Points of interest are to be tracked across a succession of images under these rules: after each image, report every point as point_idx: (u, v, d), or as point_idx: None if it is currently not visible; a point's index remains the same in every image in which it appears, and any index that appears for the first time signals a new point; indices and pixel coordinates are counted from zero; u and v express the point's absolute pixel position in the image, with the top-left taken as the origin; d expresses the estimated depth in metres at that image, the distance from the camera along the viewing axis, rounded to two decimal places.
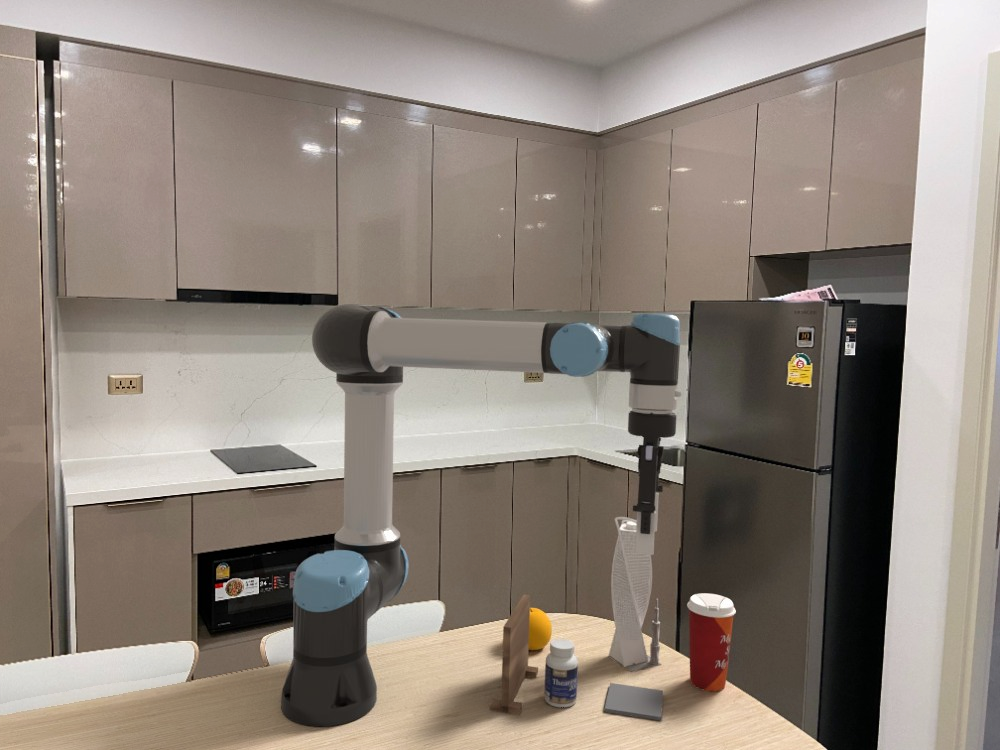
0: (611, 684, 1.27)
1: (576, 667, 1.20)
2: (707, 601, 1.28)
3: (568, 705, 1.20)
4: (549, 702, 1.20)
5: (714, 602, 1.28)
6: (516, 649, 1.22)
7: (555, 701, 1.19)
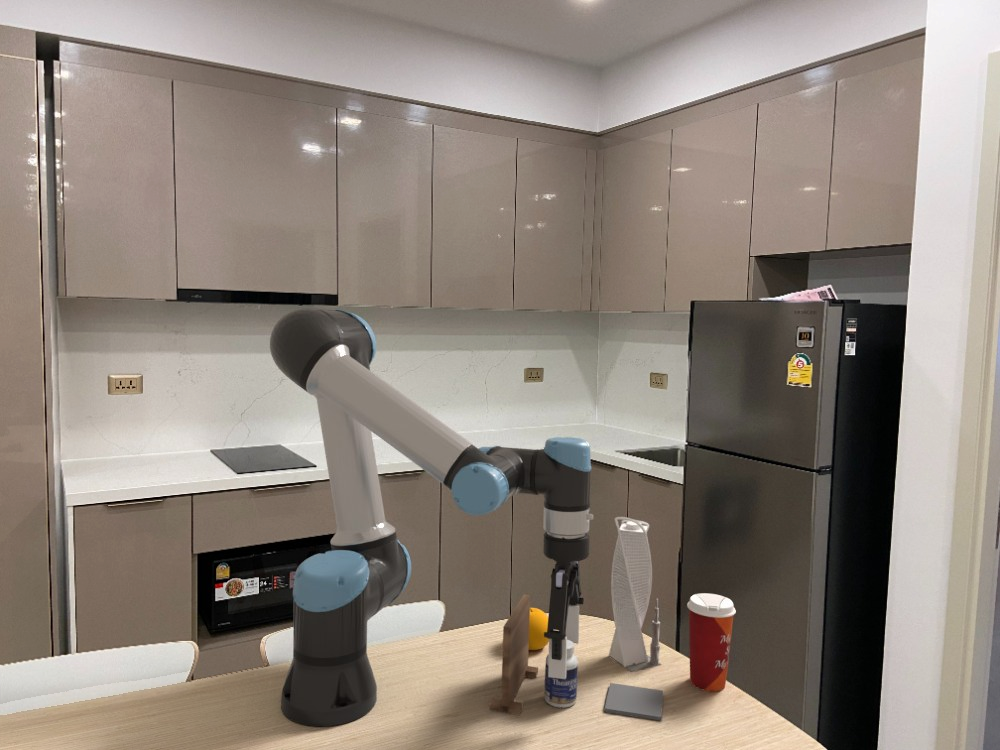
0: (611, 684, 1.27)
1: (576, 667, 1.20)
2: (707, 601, 1.28)
3: (568, 705, 1.20)
4: (549, 702, 1.20)
5: (714, 602, 1.28)
6: (516, 649, 1.22)
7: (555, 701, 1.19)
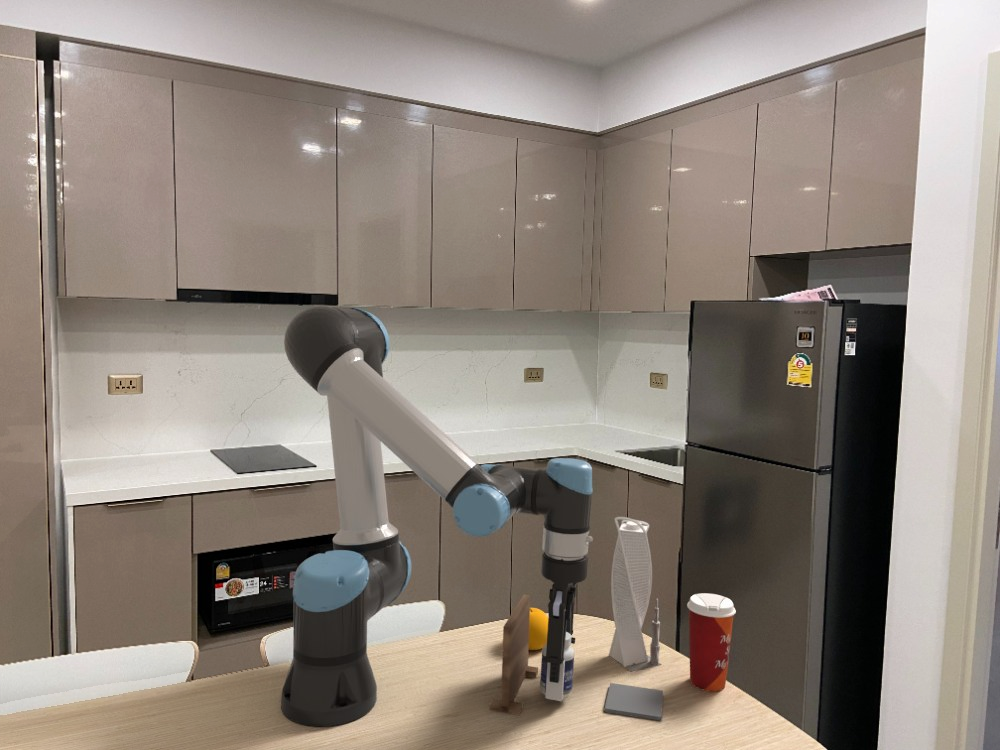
0: (611, 684, 1.27)
1: (572, 659, 1.20)
2: (707, 601, 1.28)
3: (563, 696, 1.20)
4: (544, 693, 1.20)
5: (714, 602, 1.28)
6: (516, 649, 1.22)
7: None
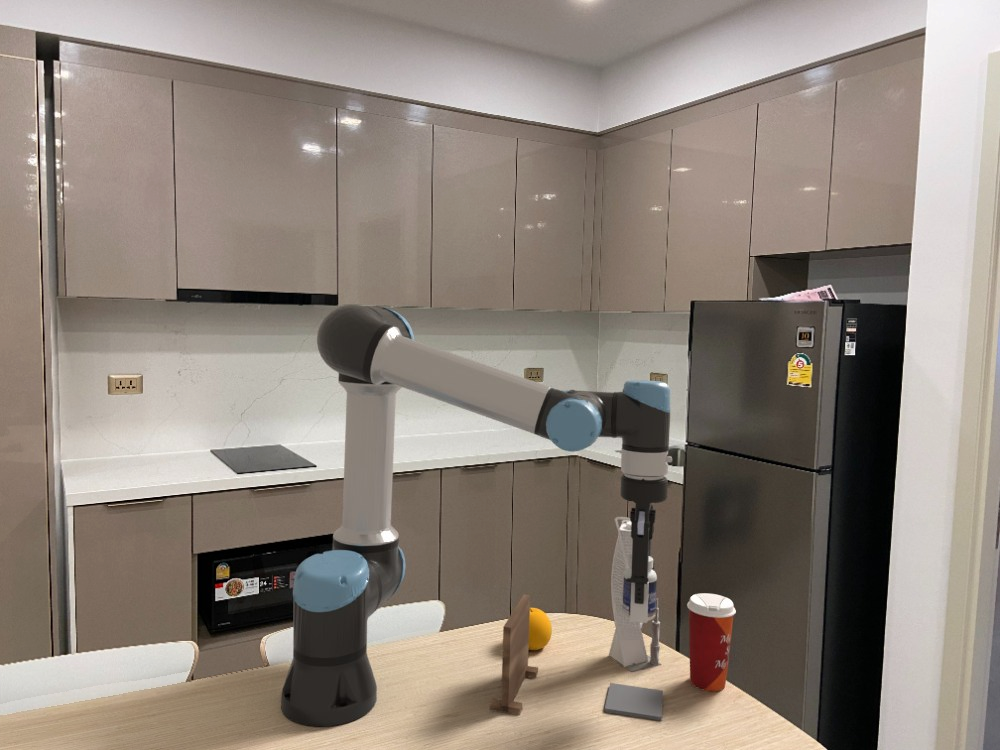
0: (611, 684, 1.27)
1: (655, 581, 1.19)
2: (707, 601, 1.28)
3: (648, 618, 1.19)
4: (628, 616, 1.19)
5: (714, 602, 1.28)
6: (516, 649, 1.22)
7: None
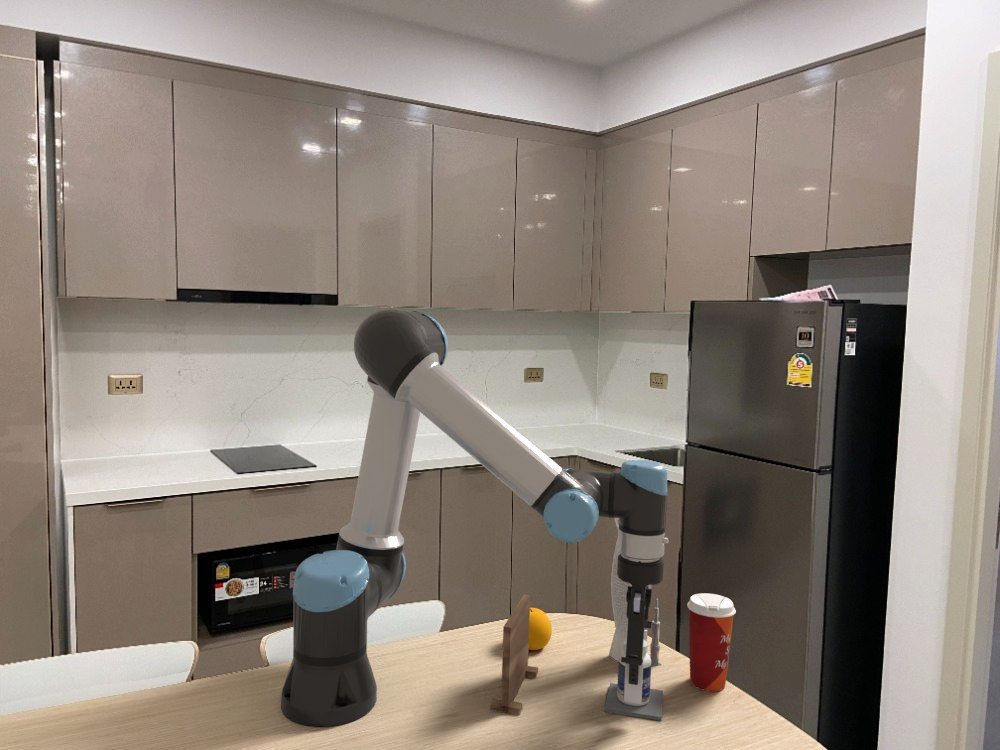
0: (611, 684, 1.27)
1: (650, 665, 1.20)
2: (707, 601, 1.28)
3: (642, 703, 1.19)
4: (623, 701, 1.20)
5: (714, 602, 1.28)
6: (516, 649, 1.22)
7: None
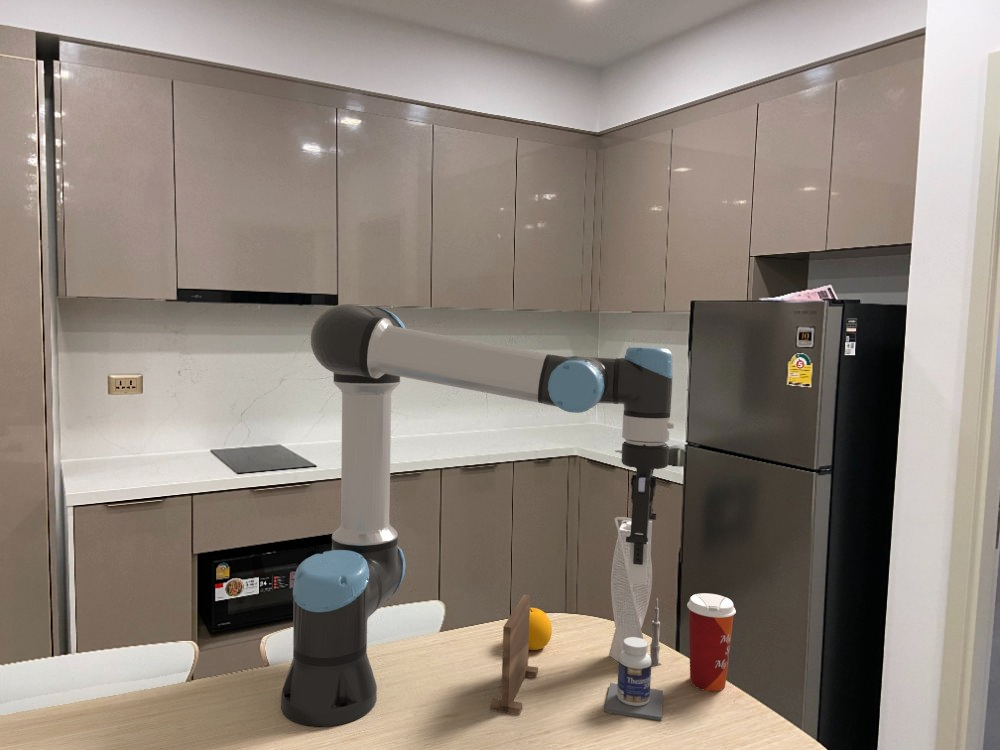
0: (611, 684, 1.27)
1: (650, 665, 1.20)
2: (707, 601, 1.28)
3: (642, 703, 1.19)
4: (623, 700, 1.20)
5: (714, 602, 1.28)
6: (516, 649, 1.22)
7: (630, 699, 1.19)
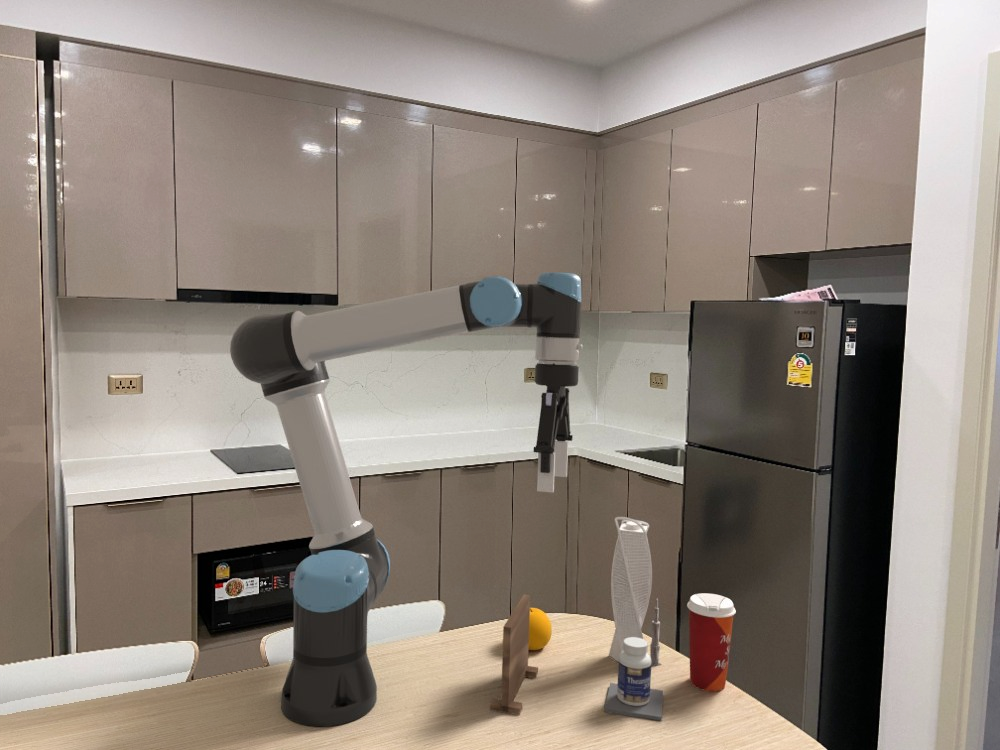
0: (611, 684, 1.27)
1: (650, 665, 1.20)
2: (707, 601, 1.28)
3: (642, 703, 1.19)
4: (623, 700, 1.20)
5: (714, 602, 1.28)
6: (516, 649, 1.22)
7: (630, 699, 1.19)
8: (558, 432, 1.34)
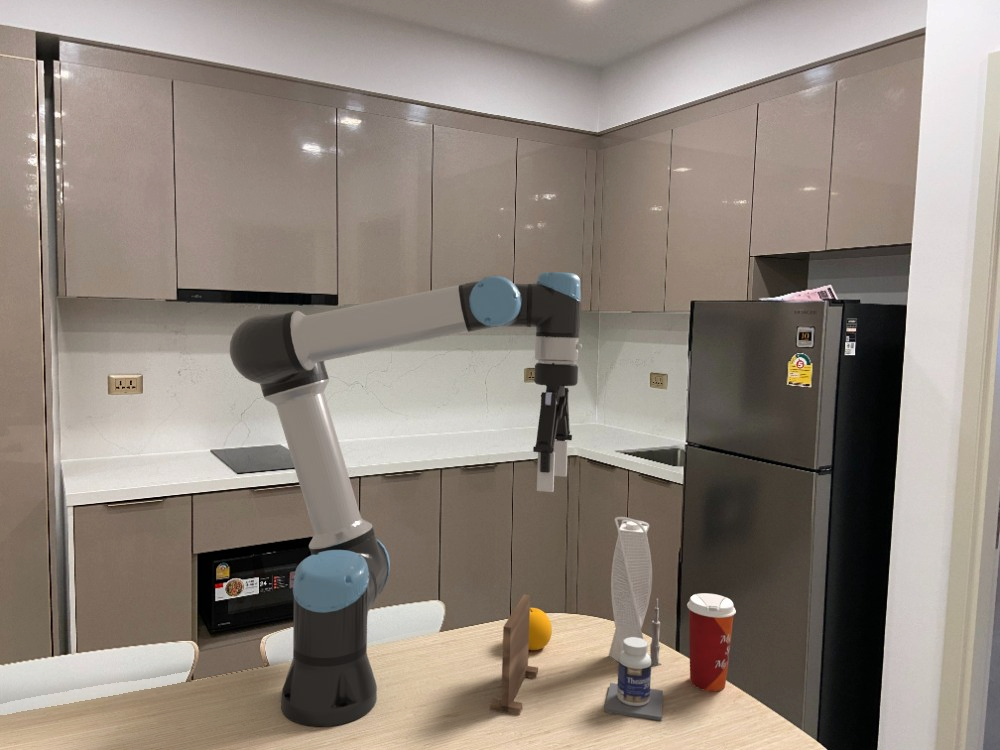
0: (611, 684, 1.27)
1: (650, 665, 1.20)
2: (707, 601, 1.28)
3: (642, 703, 1.19)
4: (623, 701, 1.20)
5: (714, 602, 1.28)
6: (516, 649, 1.22)
7: (630, 700, 1.19)
8: (558, 432, 1.34)
